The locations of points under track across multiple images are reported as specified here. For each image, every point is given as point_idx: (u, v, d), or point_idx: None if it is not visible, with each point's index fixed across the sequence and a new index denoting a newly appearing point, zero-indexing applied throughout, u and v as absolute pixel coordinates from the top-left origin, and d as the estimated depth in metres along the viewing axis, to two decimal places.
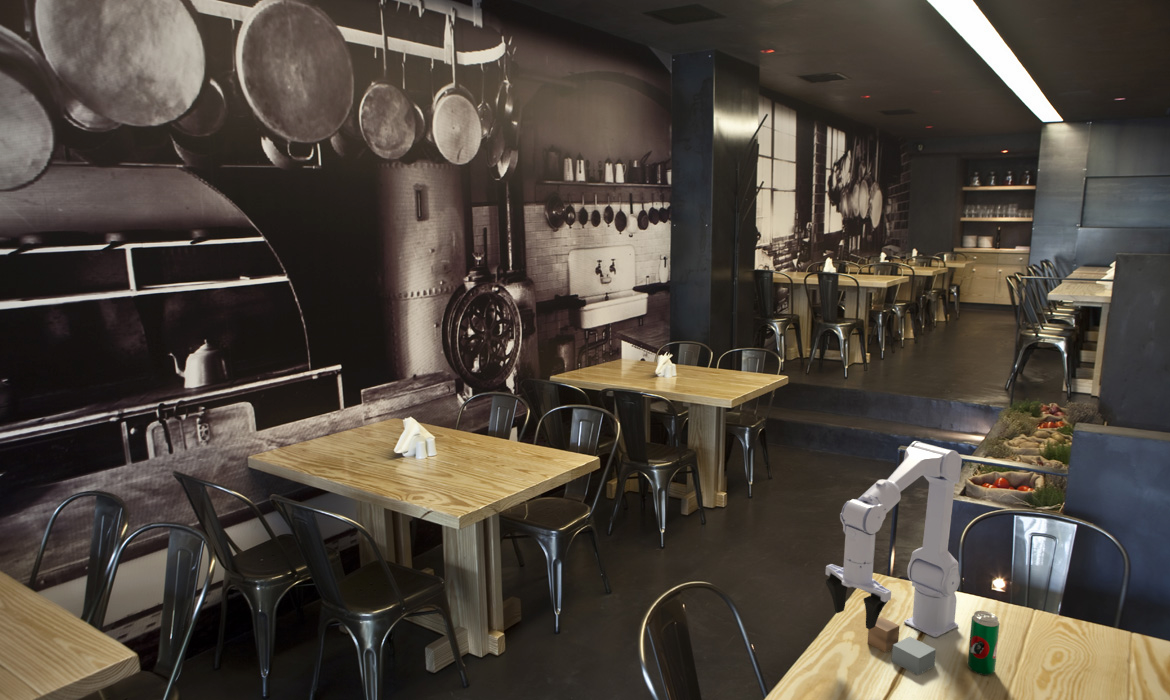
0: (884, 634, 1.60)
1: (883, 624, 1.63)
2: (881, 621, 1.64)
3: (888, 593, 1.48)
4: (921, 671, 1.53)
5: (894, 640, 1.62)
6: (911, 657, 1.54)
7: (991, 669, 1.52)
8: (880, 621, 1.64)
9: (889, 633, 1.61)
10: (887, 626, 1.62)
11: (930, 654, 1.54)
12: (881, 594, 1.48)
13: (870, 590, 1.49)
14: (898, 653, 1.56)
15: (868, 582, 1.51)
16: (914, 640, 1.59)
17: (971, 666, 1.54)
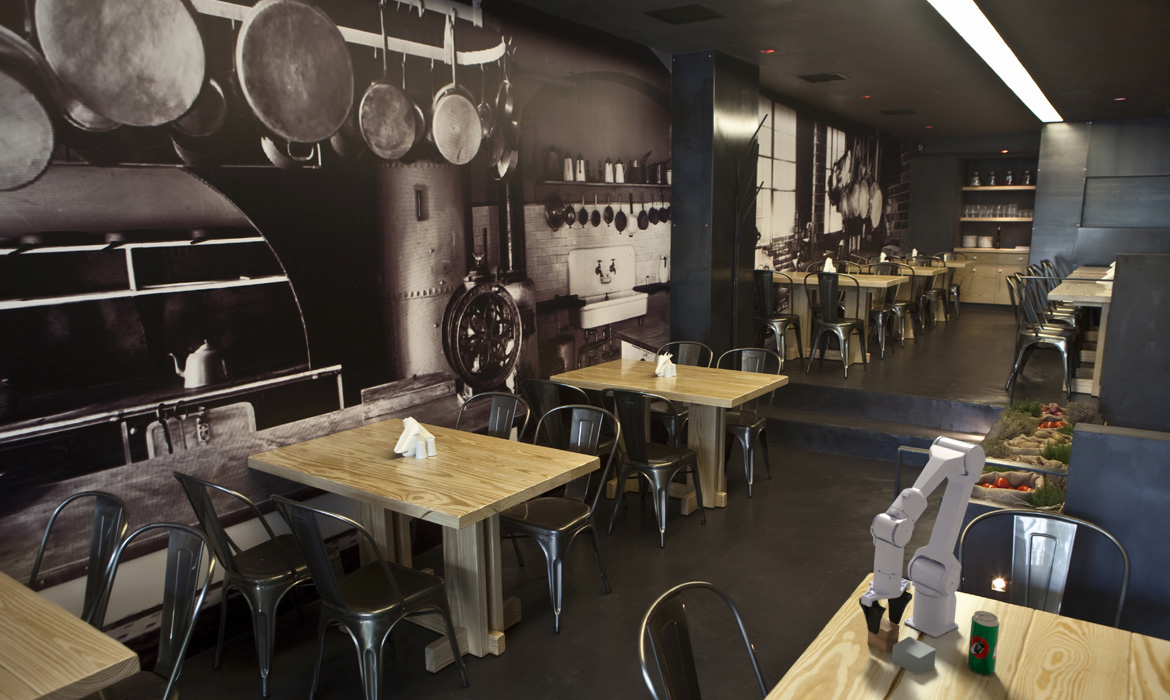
0: (884, 634, 1.60)
1: (883, 624, 1.63)
2: (881, 621, 1.64)
3: (865, 598, 1.58)
4: (921, 671, 1.53)
5: (894, 640, 1.62)
6: (911, 657, 1.53)
7: (991, 669, 1.52)
8: None
9: (889, 633, 1.61)
10: (887, 626, 1.62)
11: (930, 654, 1.54)
12: None
13: None
14: (898, 653, 1.56)
15: (877, 589, 1.60)
16: (914, 640, 1.59)
17: (971, 666, 1.54)
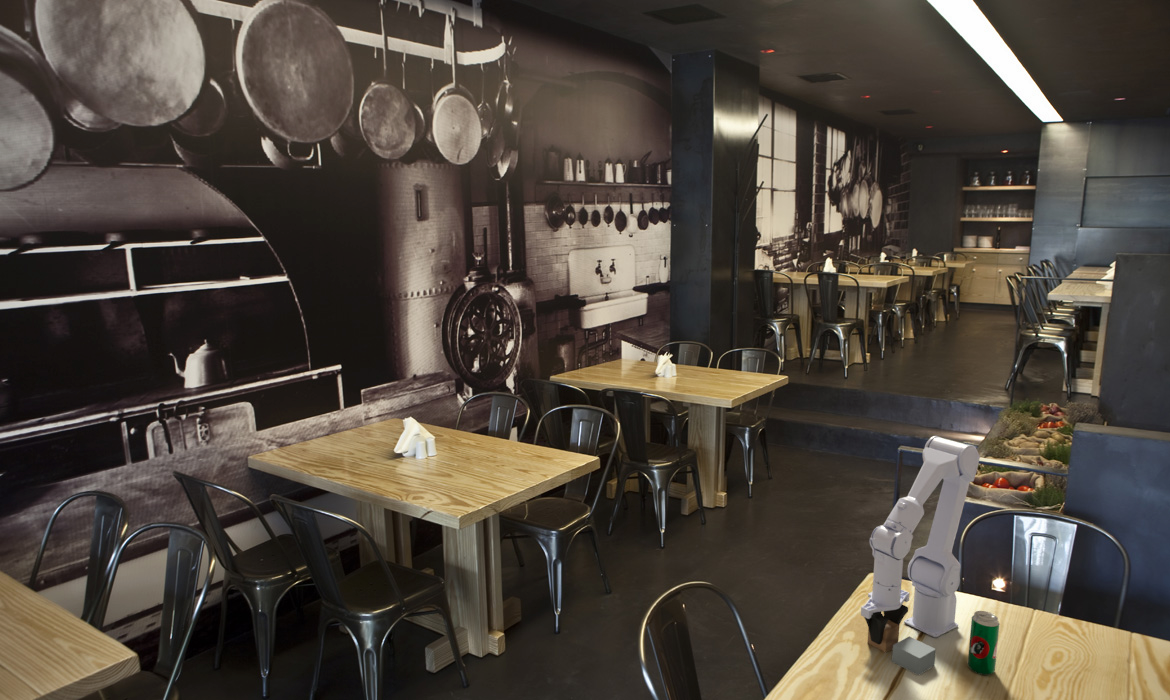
0: (884, 634, 1.60)
1: None
2: None
3: (865, 610, 1.58)
4: (921, 671, 1.53)
5: (894, 640, 1.62)
6: (911, 657, 1.53)
7: (991, 669, 1.52)
8: None
9: (889, 633, 1.61)
10: (887, 626, 1.62)
11: (930, 654, 1.54)
12: None
13: None
14: (898, 653, 1.56)
15: (876, 601, 1.61)
16: (914, 640, 1.59)
17: (971, 666, 1.54)
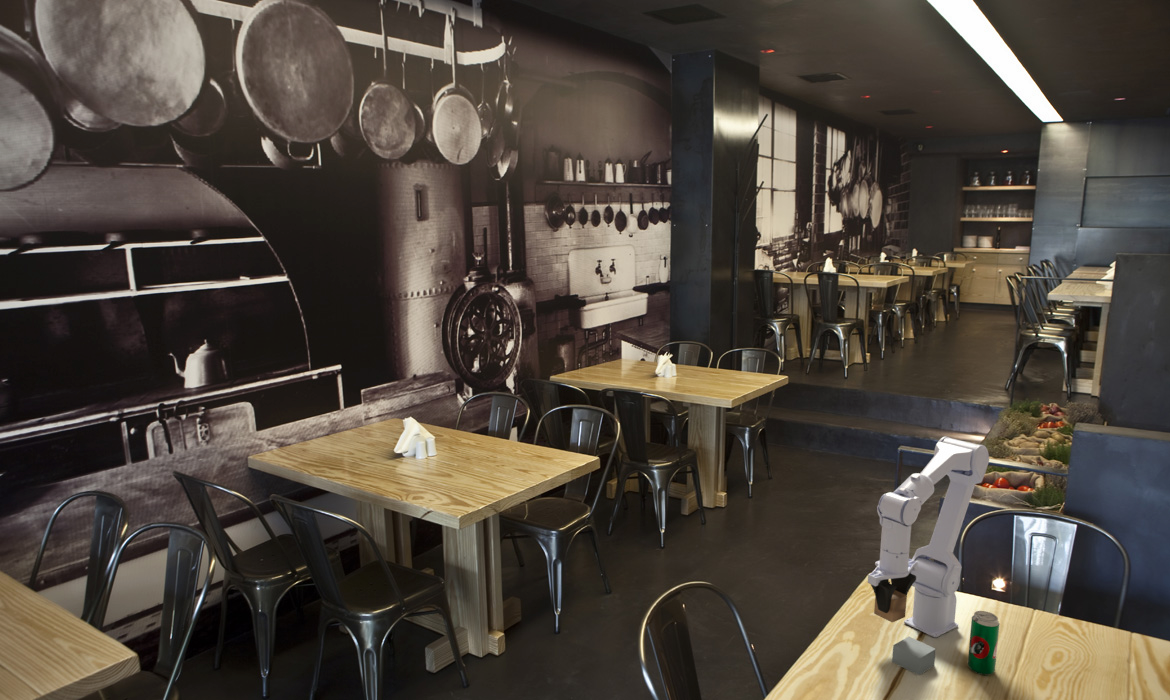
0: (891, 603, 1.58)
1: None
2: None
3: (872, 577, 1.56)
4: (922, 671, 1.53)
5: (901, 610, 1.60)
6: (911, 657, 1.53)
7: (991, 669, 1.52)
8: None
9: (896, 603, 1.58)
10: (894, 596, 1.60)
11: (930, 654, 1.54)
12: None
13: None
14: (898, 653, 1.56)
15: (884, 569, 1.58)
16: (913, 640, 1.59)
17: (971, 666, 1.54)
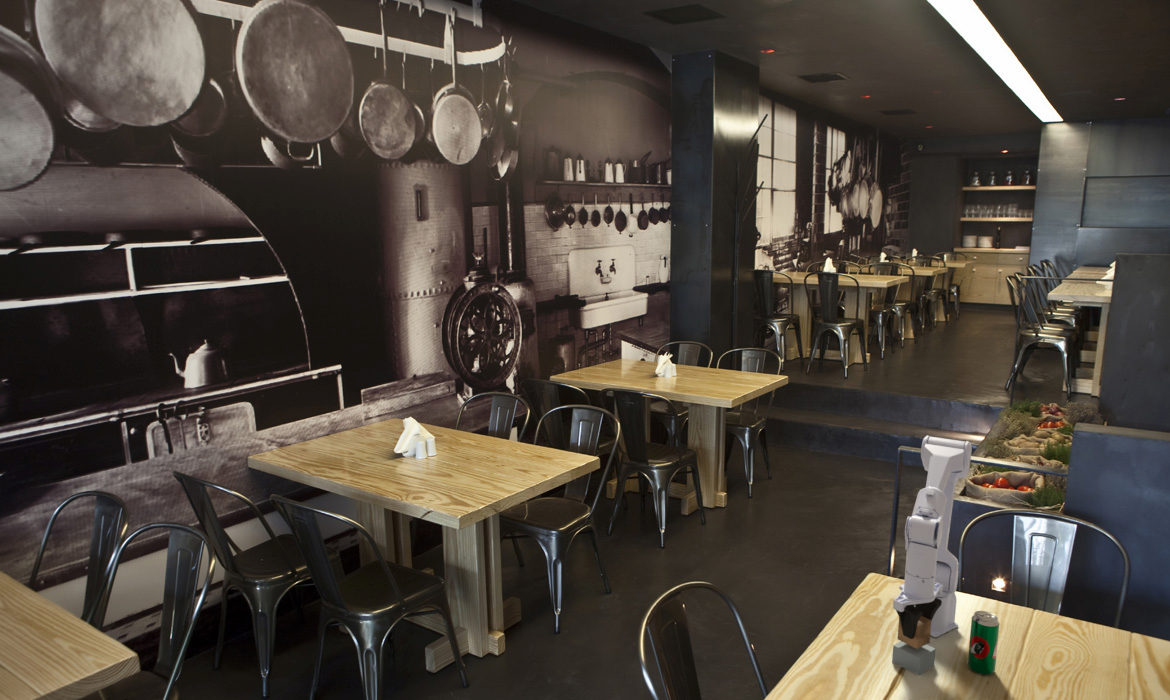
0: (916, 629, 1.53)
1: None
2: None
3: (897, 603, 1.50)
4: (922, 671, 1.53)
5: (926, 635, 1.54)
6: (911, 657, 1.53)
7: (991, 669, 1.52)
8: None
9: (921, 628, 1.53)
10: (919, 621, 1.54)
11: (930, 654, 1.54)
12: None
13: None
14: (898, 653, 1.56)
15: (909, 594, 1.53)
16: None
17: (971, 666, 1.54)
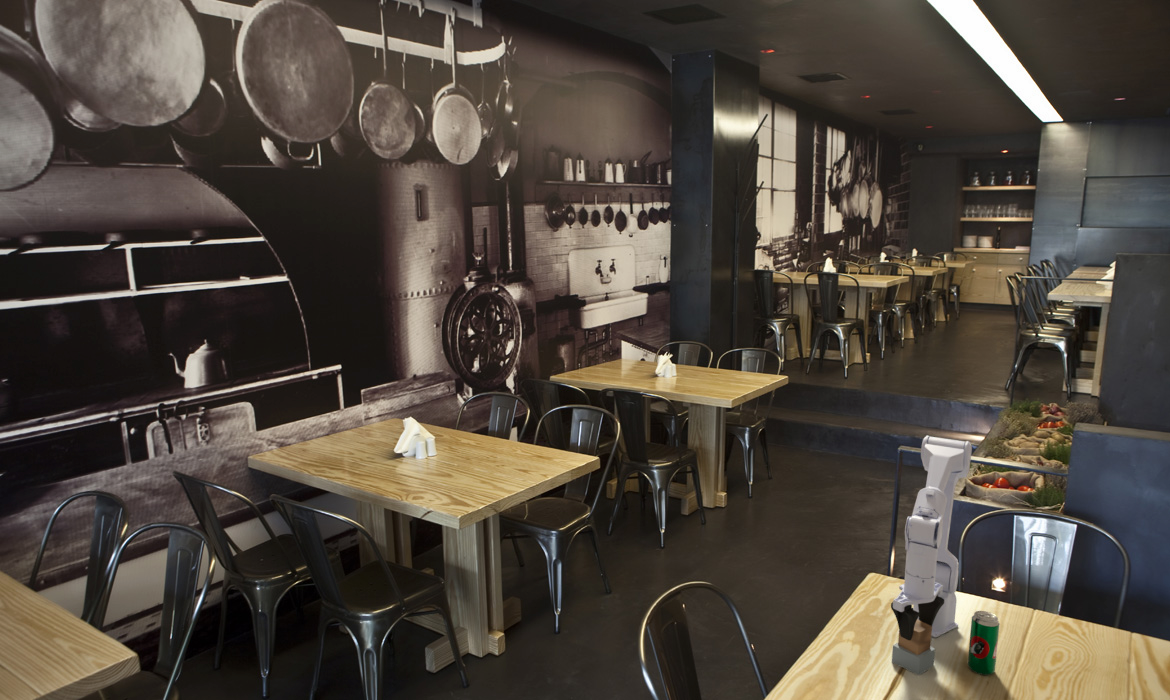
0: (917, 635, 1.53)
1: None
2: None
3: (897, 603, 1.50)
4: (922, 671, 1.53)
5: (926, 642, 1.54)
6: (911, 657, 1.53)
7: (991, 669, 1.52)
8: None
9: (921, 635, 1.53)
10: (919, 627, 1.54)
11: (929, 654, 1.54)
12: None
13: None
14: (898, 653, 1.56)
15: (909, 594, 1.53)
16: None
17: (971, 666, 1.54)
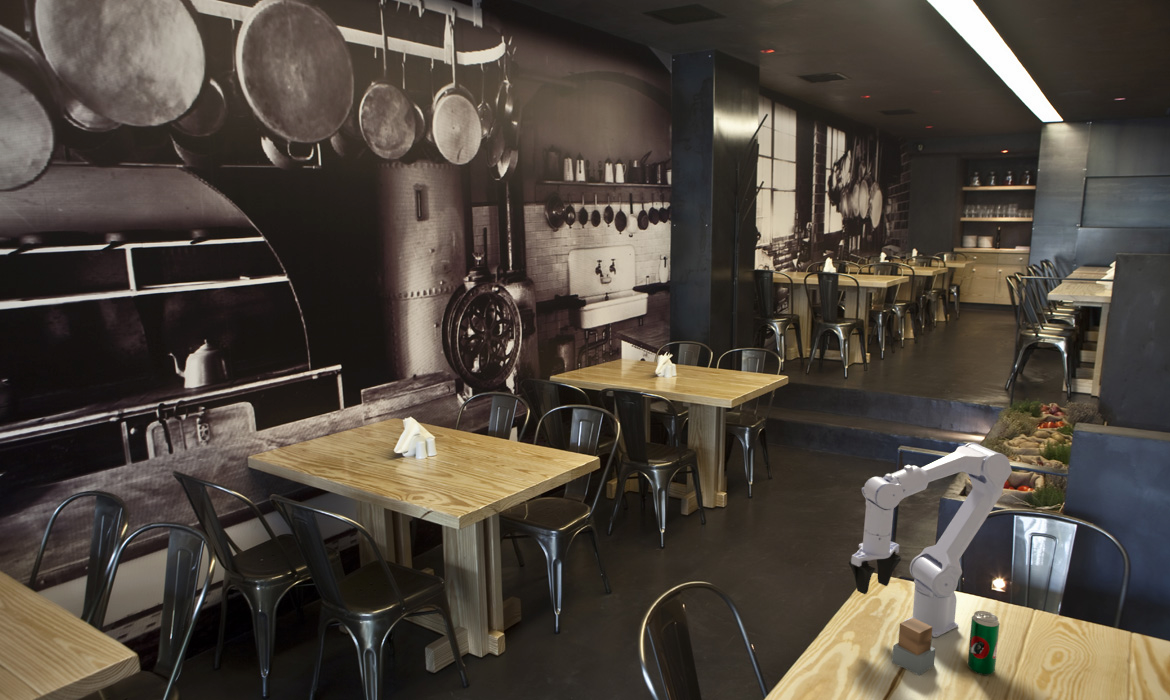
0: (917, 636, 1.53)
1: (914, 626, 1.55)
2: (913, 622, 1.56)
3: (855, 558, 1.62)
4: (922, 671, 1.53)
5: (927, 642, 1.54)
6: (912, 657, 1.53)
7: (991, 669, 1.52)
8: (912, 622, 1.56)
9: (921, 635, 1.53)
10: (919, 627, 1.54)
11: (930, 654, 1.54)
12: None
13: None
14: (899, 653, 1.56)
15: (867, 550, 1.65)
16: None
17: (971, 666, 1.54)
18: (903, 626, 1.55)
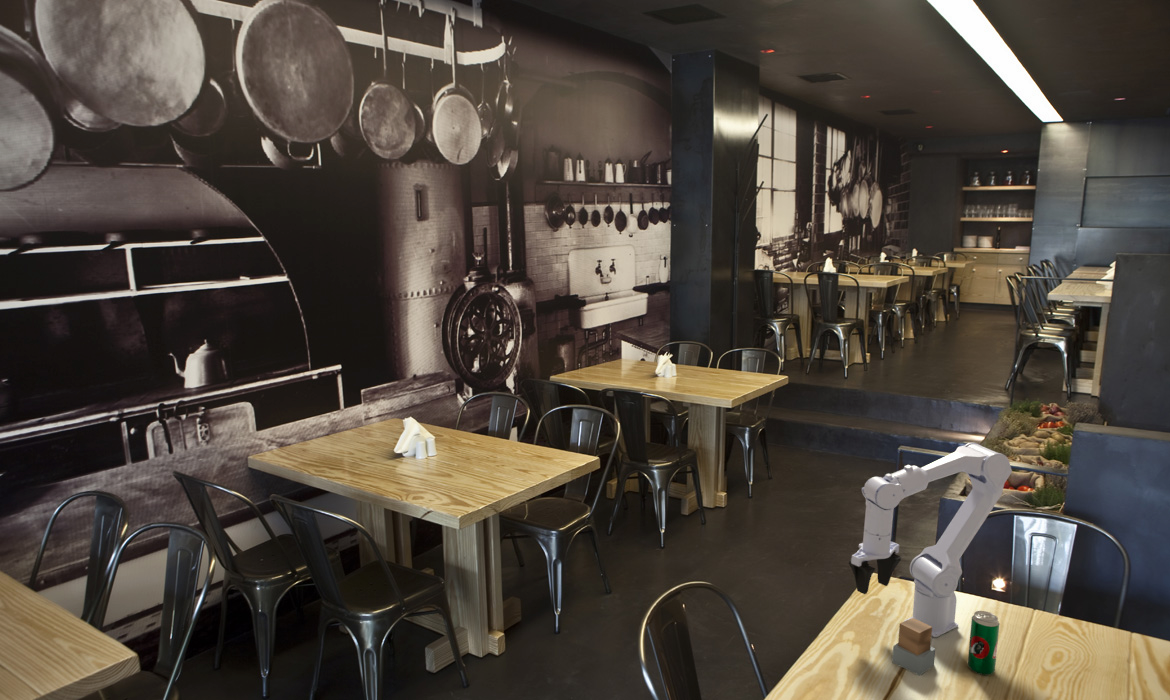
0: (916, 636, 1.53)
1: (914, 626, 1.55)
2: (912, 622, 1.56)
3: (855, 558, 1.62)
4: (922, 671, 1.53)
5: (926, 642, 1.54)
6: (912, 657, 1.53)
7: (991, 669, 1.52)
8: (911, 622, 1.56)
9: (921, 635, 1.53)
10: (919, 627, 1.54)
11: (930, 654, 1.54)
12: None
13: None
14: (899, 653, 1.56)
15: (867, 550, 1.65)
16: None
17: (971, 666, 1.54)
18: (903, 626, 1.55)
